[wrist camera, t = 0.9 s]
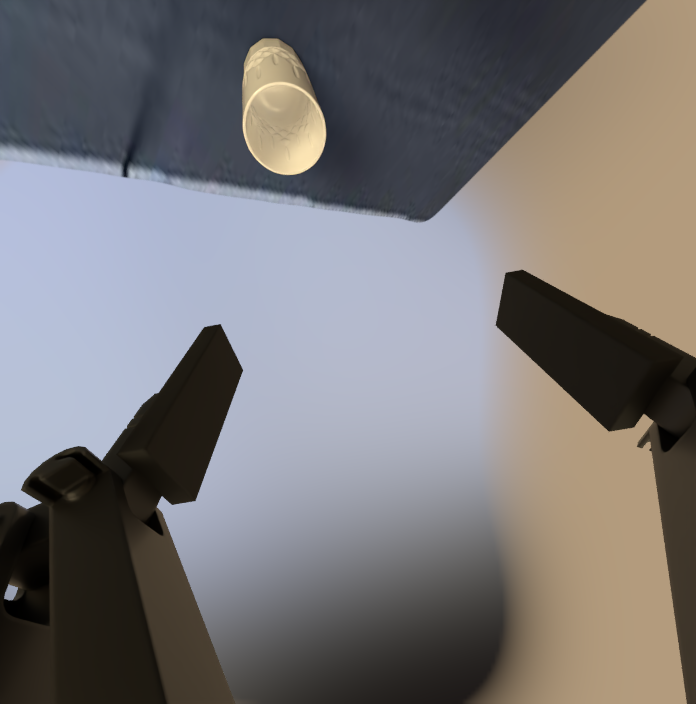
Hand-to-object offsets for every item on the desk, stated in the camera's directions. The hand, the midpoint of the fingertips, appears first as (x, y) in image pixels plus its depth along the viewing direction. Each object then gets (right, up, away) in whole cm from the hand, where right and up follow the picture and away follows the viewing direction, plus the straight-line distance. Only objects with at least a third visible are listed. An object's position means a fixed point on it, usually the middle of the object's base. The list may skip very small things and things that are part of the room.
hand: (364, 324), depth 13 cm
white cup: (-9, +29, +17) cm, 35 cm away
